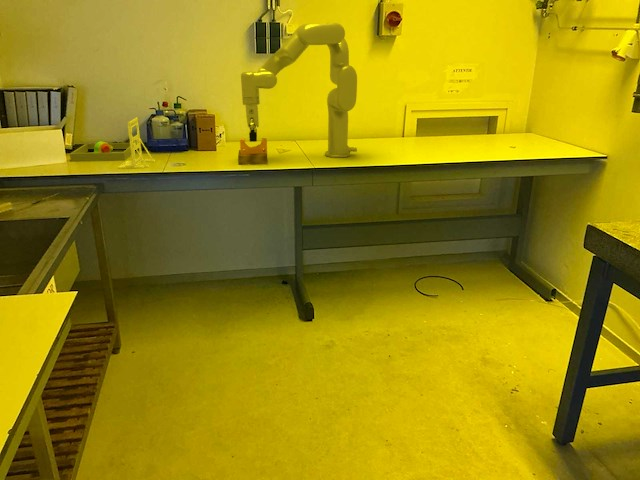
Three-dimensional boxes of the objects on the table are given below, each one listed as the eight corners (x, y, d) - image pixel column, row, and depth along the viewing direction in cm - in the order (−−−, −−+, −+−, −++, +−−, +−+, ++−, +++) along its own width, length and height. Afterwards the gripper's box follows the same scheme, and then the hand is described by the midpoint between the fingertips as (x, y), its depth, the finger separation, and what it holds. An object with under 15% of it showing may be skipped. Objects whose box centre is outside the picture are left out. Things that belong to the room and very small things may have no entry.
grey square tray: (136, 149, 261) (135, 142, 260) (125, 160, 239) (124, 152, 237) (87, 150, 258) (86, 143, 257) (71, 161, 236) (69, 153, 235)
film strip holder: (125, 161, 237) (119, 117, 230) (155, 161, 238) (150, 117, 231) (115, 168, 224) (109, 122, 217) (148, 168, 225) (142, 122, 218)
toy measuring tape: (117, 153, 253) (115, 140, 250) (83, 161, 237) (81, 147, 234) (108, 152, 255) (106, 139, 253) (74, 159, 240) (72, 145, 237)
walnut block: (267, 157, 246) (266, 149, 245) (267, 164, 234) (267, 155, 233) (239, 158, 245) (239, 149, 243) (238, 164, 233) (238, 155, 231)
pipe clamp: (266, 151, 241) (265, 137, 239) (267, 153, 237) (266, 139, 235) (240, 152, 239) (239, 138, 236) (240, 154, 235) (240, 139, 232)
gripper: (259, 103, 222) (261, 142, 228) (259, 98, 238) (261, 135, 244) (241, 103, 221) (244, 143, 228) (243, 98, 237) (245, 136, 243)
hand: (253, 139), depth 236 cm, fingers open, 9 cm apart
